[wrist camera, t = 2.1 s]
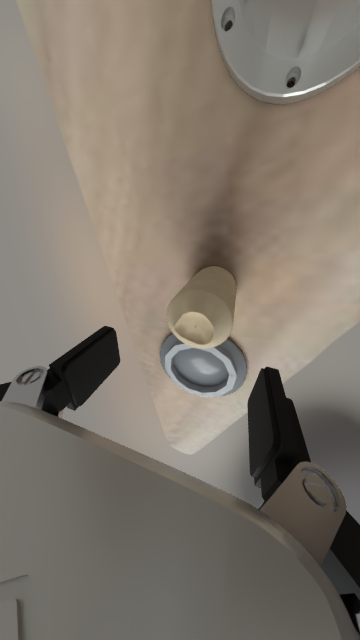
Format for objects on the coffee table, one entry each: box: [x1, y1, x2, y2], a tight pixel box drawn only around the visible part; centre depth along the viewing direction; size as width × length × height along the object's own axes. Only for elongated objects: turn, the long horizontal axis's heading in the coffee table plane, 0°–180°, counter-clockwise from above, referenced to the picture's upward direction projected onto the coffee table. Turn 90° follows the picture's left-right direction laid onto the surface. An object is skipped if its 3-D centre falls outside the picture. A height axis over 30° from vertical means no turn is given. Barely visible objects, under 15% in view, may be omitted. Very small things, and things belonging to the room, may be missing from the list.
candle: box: [167, 266, 236, 348], centre depth 17 cm, size 6×6×10 cm
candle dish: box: [160, 333, 247, 397], centre depth 27 cm, size 14×14×2 cm
